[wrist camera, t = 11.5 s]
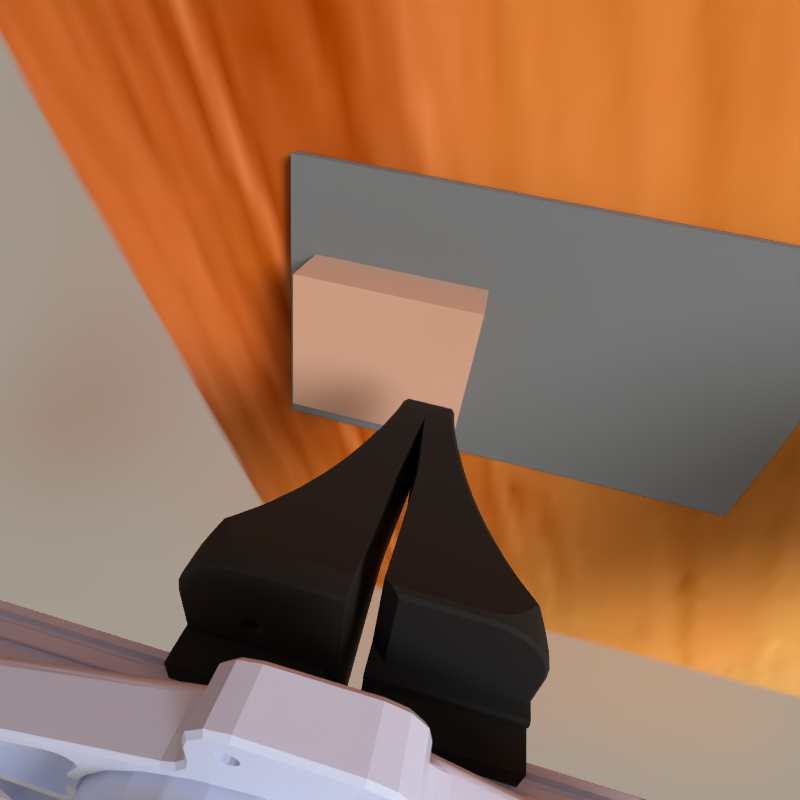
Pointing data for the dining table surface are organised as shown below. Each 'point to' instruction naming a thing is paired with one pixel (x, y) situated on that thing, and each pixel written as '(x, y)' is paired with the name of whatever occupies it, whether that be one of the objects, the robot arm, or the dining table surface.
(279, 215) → the dining table surface
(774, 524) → the dining table surface
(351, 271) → the tile
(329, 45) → the dining table surface
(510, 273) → the mat
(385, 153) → the dining table surface
